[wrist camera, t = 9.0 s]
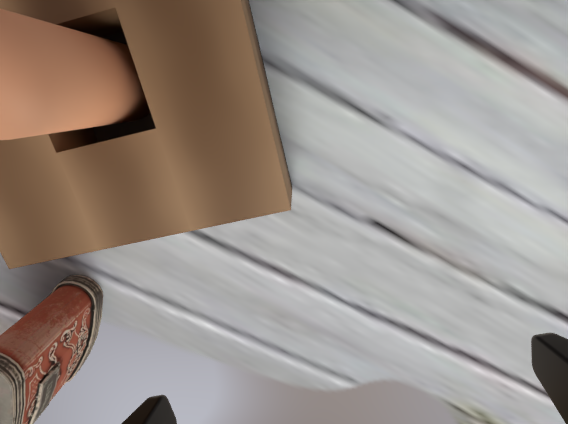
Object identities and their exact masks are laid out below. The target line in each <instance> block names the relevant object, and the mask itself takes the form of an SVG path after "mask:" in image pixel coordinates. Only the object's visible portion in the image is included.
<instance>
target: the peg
mask: <svg viewBox="0 0 568 424" xmlns="http://www.w3.org/2000/svg"><path fill="white" fill-rule="evenodd" d="M149 113H150V109H149V106H148V103H147V100H146V97H145V94H144V91H143V88H142V85H141V82H140V79H139V76H138V73H137V70H136V67H135V64H134V61H133V59H132V56H131V53H130V50H129V47H128V45H125V44H122V43H118V42H115V41H111V40H108V39H104V38H101V37H98V36H94V35H91V34H87V33H84V32H80V31H77V30H73V29H70V28H66V27H63V26H59V25H56V24H52V23H49V22H46V21H42V20H39V19H35V18H32V17H28V16H25V15H21V14H18V13H14V12H11V11H7V10H4V9H0V140H11V139H18V138H25V137H31V136H38V135H45V134H51V133H58V132H64V131H71V130H78V129H84V128H91V127H98V126H104V125H111V124H117V123H124V122H131V121H136V120H139V119H142V118H144V117H145V116H147V115H148V114H149Z"/></svg>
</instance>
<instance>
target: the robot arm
mask: <svg viewBox="0 0 568 424" xmlns="http://www.w3.org/2000/svg"><path fill="white" fill-rule="evenodd" d="M531 347H532V366H533V370H534V372H535V374H536V376H537V378H538V379H539V381H540V382H541V384H542V386H543V387H544V389H545V390H546V392H547V394H548V395H549V397H550V399H551V400H552V402H553V403H554V405H555V407H556V408H557V410H558V412H559V413H560V415H561V416H562V418H563V420H564V421H565V423H566V424H568V339H566V338H564V337H561V336H559V335H557V334H554V333H544V334H538V335H534V336H533V337H532V340H531ZM122 424H177V423H176V417H175V415H174V412H173V410H172V408H171V405H170V403H169V401H168V399H167V397H166V396H165V395H159V396H153V397H149V398H148V399H147V400H145V402H143V403H142V405H140V406H139V407H138V408H137V409H136V410H135V411H134V412H133V413H132V414H131V415H130V416H129V417H128V418H127V419H126V420H125V421H124V422H123V423H122Z"/></svg>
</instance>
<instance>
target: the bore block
mask: <svg viewBox="0 0 568 424" xmlns="http://www.w3.org/2000/svg"><path fill="white" fill-rule="evenodd" d="M0 9H4V10H7V11H11V12H14V13H18V14H21V15H25V16H28V17H32V18H35V19H39V20H42V21H46V22H49V23H52V24H56V25H59V26H63V27H66V28H70V29H73V30H77V31H80V32H84V33H87V34H91V35H94V36H98V37H101V38H104V39H108V40H111V41H115V42H118V43H122V44H125V45H128V47H129V50H130V53H131V56H132V59H133V61H134V64H135V67H136V70H137V73H138V76H139V79H140V82H141V85H142V88H143V91H144V94H145V97H146V100H147V103H148V106H149V109H150V113H149V114H148V115H147V116H145V117H144V118H142V119H139V120H136V121H131V122H124V123H117V124H111V125H104V126H98V127H91V128H84V129H78V130H71V131H64V132H58V133H51V134H45V135H38V136H31V137H25V138H18V139H11V140H0V252H1V254H2V256H3V258H4V260H5V262H6V264H7V266H8V268H9V269H12V268H17V267H22V266H26V265H31V264H36V263H41V262H45V261H50V260H55V259H60V258H64V257H69V256H74V255H79V254H83V253H88V252H93V251H98V250H102V249H107V248H112V247H117V246H122V245H126V244H131V243H136V242H141V241H145V240H150V239H155V238H160V237H164V236H169V235H174V234H179V233H183V232H188V231H193V230H198V229H202V228H207V227H212V226H217V225H221V224H226V223H231V222H236V221H240V220H245V219H250V218H255V217H260V216H264V215H269V214H274V213H279V212H283V211H288V210H291V199H292V184H291V180H290V176H289V171H288V167H287V163H286V159H285V154H284V150H283V146H282V141H281V137H280V133H279V128H278V124H277V120H276V116H275V111H274V107H273V103H272V98H271V94H270V90H269V85H268V81H267V77H266V73H265V68H264V64H263V60H262V55H261V51H260V47H259V42H258V38H257V34H256V30H255V25H254V21H253V17H252V12H251V8H250V4H249V0H0Z"/></svg>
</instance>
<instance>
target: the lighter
mask: <svg viewBox="0 0 568 424" xmlns="http://www.w3.org/2000/svg"><path fill="white" fill-rule="evenodd" d="M102 305H103V292H102V290H101V288H100V286H99V285H98V284H97V283H96V282H95V281H94V280H92V279H90V278H88V277H85V276H82V275H71V276H69V277H66V278H65V279H64V280H63V281H61V282H60V283H59V284H58V285H57V286H56V287H55V288H54V289H53V291H52V293H51V295H49V296H48V297H47V298H46V299H45V300H43V301H42V302H41V303H40V304H38V305H37V306H36V307H35V308H34V309H32V310H31V311H30V312H29V313H27V314H26V315H25V316H24V317H22V318H21V319H20V320H19V321H18V322H16V323H15V324H14V325H13V326H11V327H10V328H9V329H8V330H7V331H5V332H4V333H3V334H2V335H0V424H33V423H34V422H35V421H36V420H37V418H38V417H39V416H40V415H41V413H42V412H43V411H44V410H45V408H46V407H47V406H48V405H49V402H50V401H51V400H52V399H53V397H54V396H55V395H56V394H57V392H58V391H59V390H60V389H61V387H62V386H63V385H64V383H66V382H69V381H70V380H71V379H72V378H73V377H74V376H75V375H76V373H77V372H78V370H80V368H81V366H82V365H83V363H84V362H85V360H86V359H87V357H88V355H89V354H90V352H91V349H92V347H93V345H94V342H95V340H96V338H97V335H98V330H99V326H100V322H101V317H102Z"/></svg>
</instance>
